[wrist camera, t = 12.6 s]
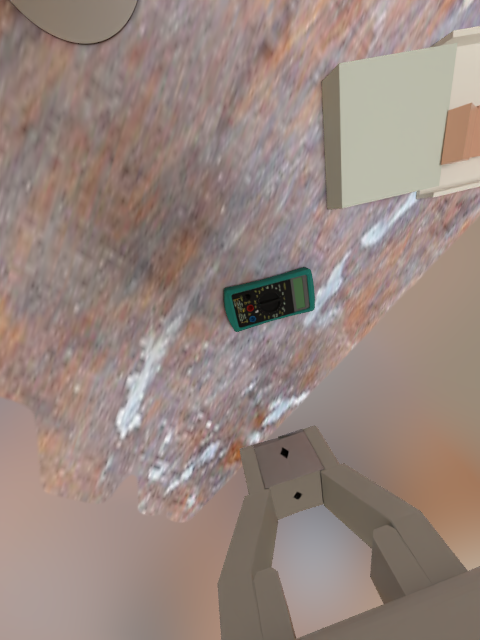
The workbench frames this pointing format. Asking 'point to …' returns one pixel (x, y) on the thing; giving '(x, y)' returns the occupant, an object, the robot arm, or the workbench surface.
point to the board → (386, 124)
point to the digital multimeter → (269, 299)
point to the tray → (467, 87)
